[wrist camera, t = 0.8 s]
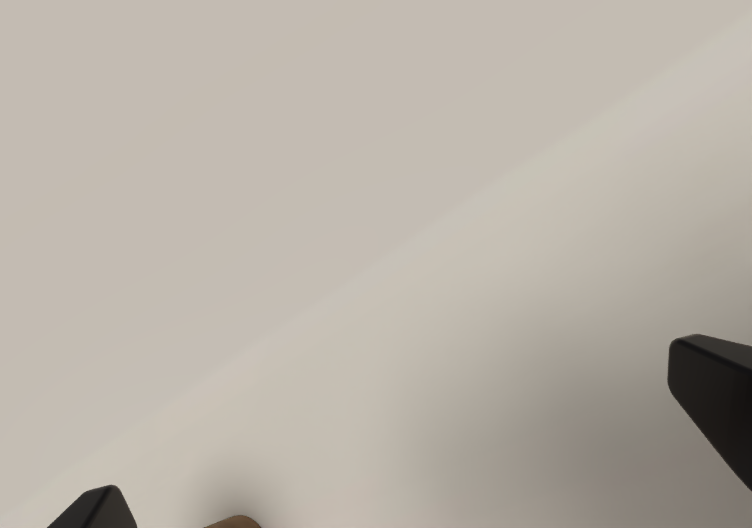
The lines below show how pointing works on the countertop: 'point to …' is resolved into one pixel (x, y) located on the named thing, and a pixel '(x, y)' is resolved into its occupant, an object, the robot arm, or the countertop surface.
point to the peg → (235, 523)
